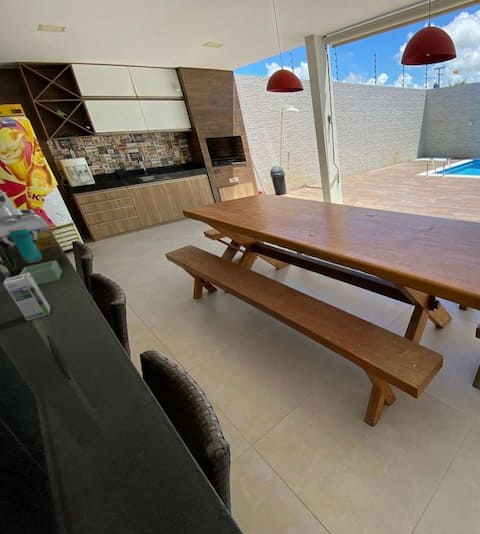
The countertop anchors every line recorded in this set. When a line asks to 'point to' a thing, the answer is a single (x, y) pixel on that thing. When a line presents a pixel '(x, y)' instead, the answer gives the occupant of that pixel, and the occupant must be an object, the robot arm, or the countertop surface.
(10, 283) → the syrup box
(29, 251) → the teal tall block
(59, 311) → the countertop surface
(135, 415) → the countertop surface
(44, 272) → the bin
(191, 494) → the countertop surface
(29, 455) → the countertop surface
